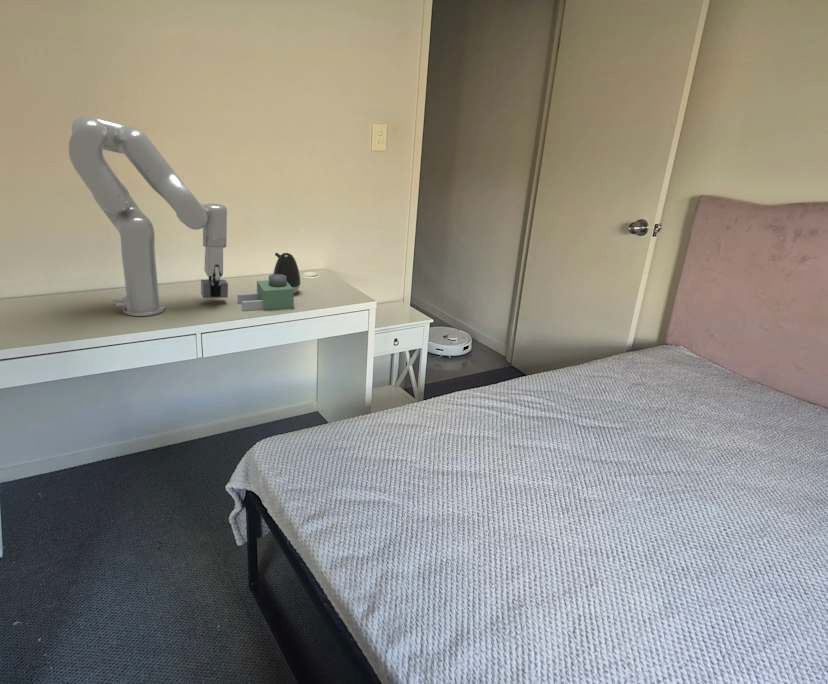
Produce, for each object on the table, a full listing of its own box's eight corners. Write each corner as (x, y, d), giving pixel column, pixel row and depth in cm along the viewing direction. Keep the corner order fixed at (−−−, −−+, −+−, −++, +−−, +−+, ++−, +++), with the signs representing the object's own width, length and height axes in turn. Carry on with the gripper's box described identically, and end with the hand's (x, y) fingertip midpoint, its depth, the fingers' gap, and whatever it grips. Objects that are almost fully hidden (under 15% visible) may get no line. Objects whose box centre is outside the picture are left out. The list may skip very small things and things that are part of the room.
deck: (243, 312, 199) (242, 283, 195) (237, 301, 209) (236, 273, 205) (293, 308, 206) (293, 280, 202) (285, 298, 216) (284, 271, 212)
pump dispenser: (285, 287, 228) (285, 248, 223) (306, 292, 223) (306, 253, 218) (266, 292, 220) (265, 252, 214) (287, 298, 215) (287, 257, 210)
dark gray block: (203, 297, 200) (203, 283, 199) (200, 293, 205) (200, 279, 203) (227, 297, 204) (228, 283, 203) (224, 293, 208) (225, 279, 207)
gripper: (199, 236, 204) (199, 287, 210) (206, 247, 189) (206, 301, 195) (222, 236, 207) (221, 287, 213) (230, 247, 193) (229, 301, 199)
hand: (214, 293), depth 204 cm, fingers closed on dark gray block, 5 cm apart
